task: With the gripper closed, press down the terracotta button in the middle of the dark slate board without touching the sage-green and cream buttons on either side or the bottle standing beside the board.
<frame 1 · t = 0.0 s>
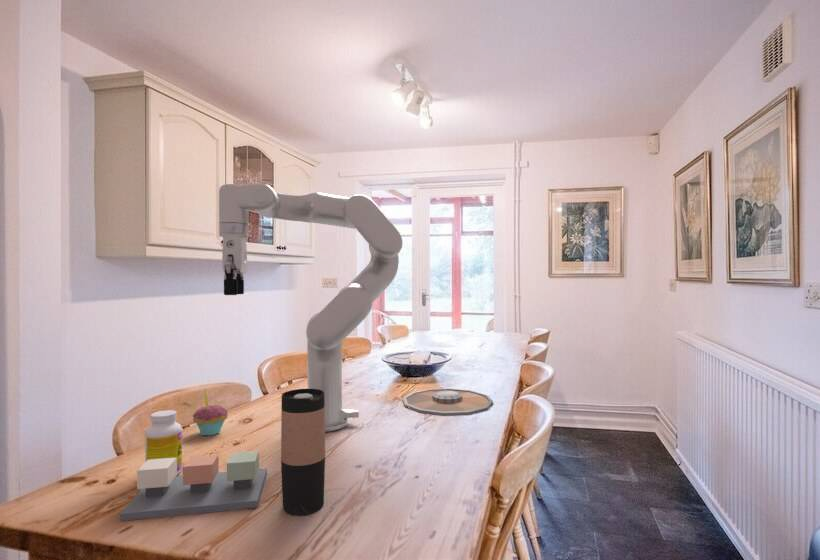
hand: (234, 294, 120), 37 cm above the table, tool pointing down, fingers open, 9 cm apart
shield: (447, 403, 147), on the table
button cream: (157, 472, 82), point 5 cm above the table, slide at 0.0 cm
button sage: (243, 465, 85), point 5 cm above the table, slide at 0.0 cm
supplement bottle: (163, 476, 92), on the table
travel mug: (303, 506, 79), on the table
board: (201, 495, 83), on the table
cupcake: (210, 433, 118), on the table
button terracotta: (201, 469, 83), point 5 cm above the table, slide at 0.0 cm
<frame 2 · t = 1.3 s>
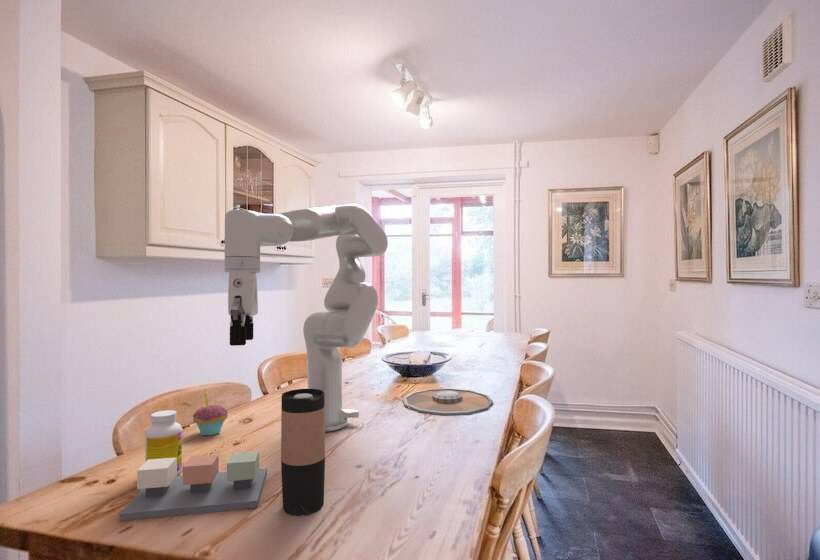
hand: (242, 342, 99), 27 cm above the table, tool pointing down, fingers open, 9 cm apart
nothing on the table moved.
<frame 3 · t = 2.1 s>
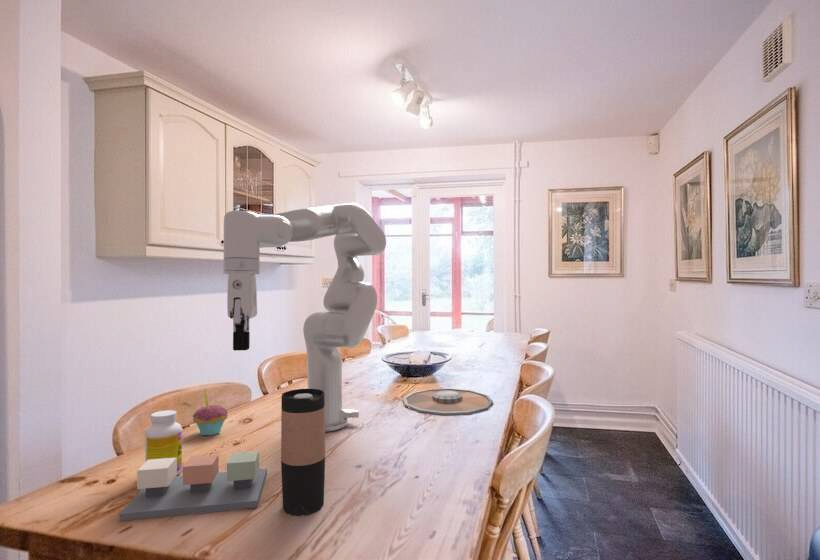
hand: (241, 349, 98), 25 cm above the table, tool pointing down, fingers closed
nothing on the table moved.
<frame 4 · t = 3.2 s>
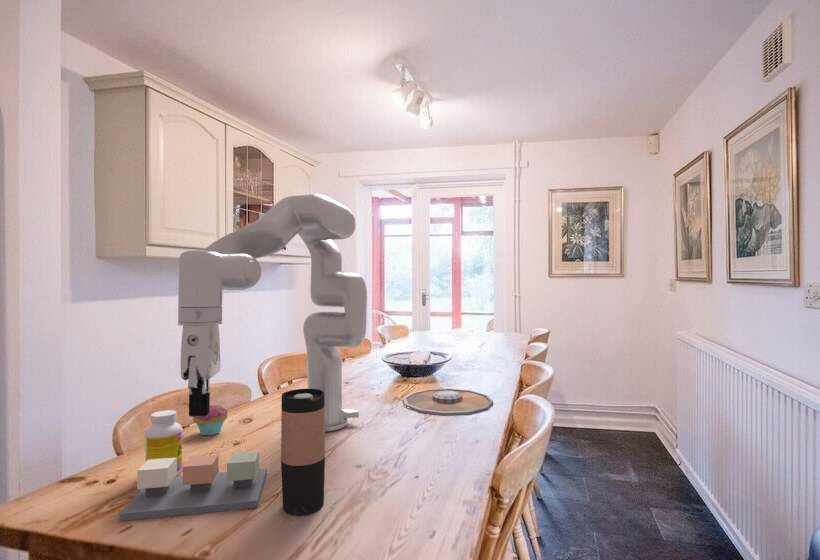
hand: (199, 414, 83), 15 cm above the table, tool pointing down, fingers closed
nothing on the table moved.
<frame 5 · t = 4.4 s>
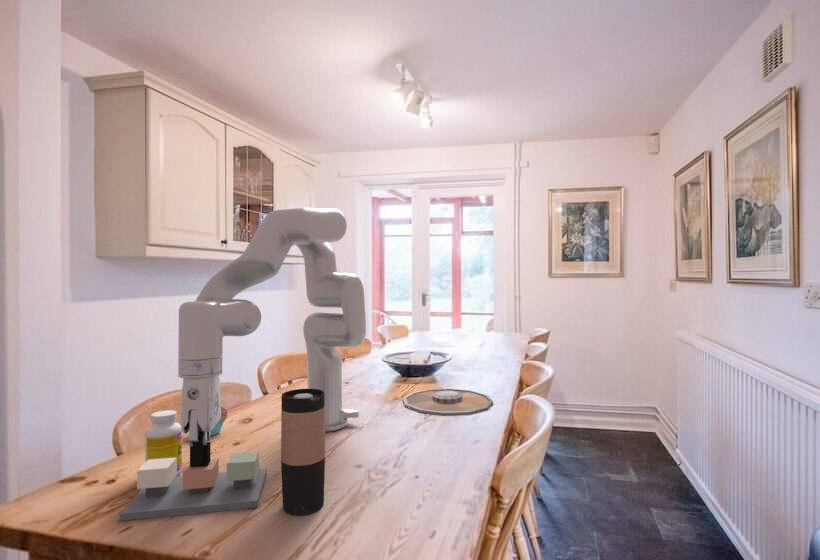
hand: (200, 465, 83), 6 cm above the table, tool pointing down, fingers closed
button terracotta: (201, 473, 83), point 4 cm above the table, slide at 0.8 cm, touching gripper
everything else where it was.
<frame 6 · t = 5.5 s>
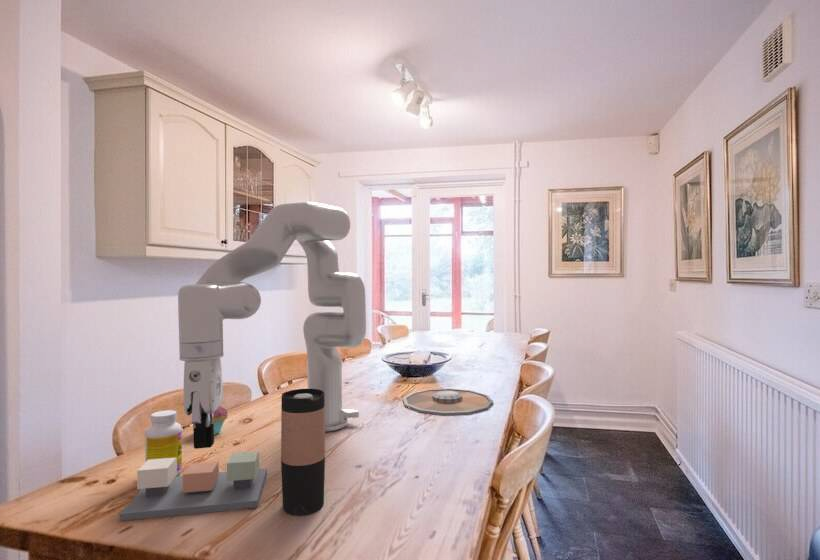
hand: (204, 446, 84), 9 cm above the table, tool pointing down, fingers closed
button terracotta: (201, 476, 83), point 3 cm above the table, slide at 1.4 cm
everything else where it was.
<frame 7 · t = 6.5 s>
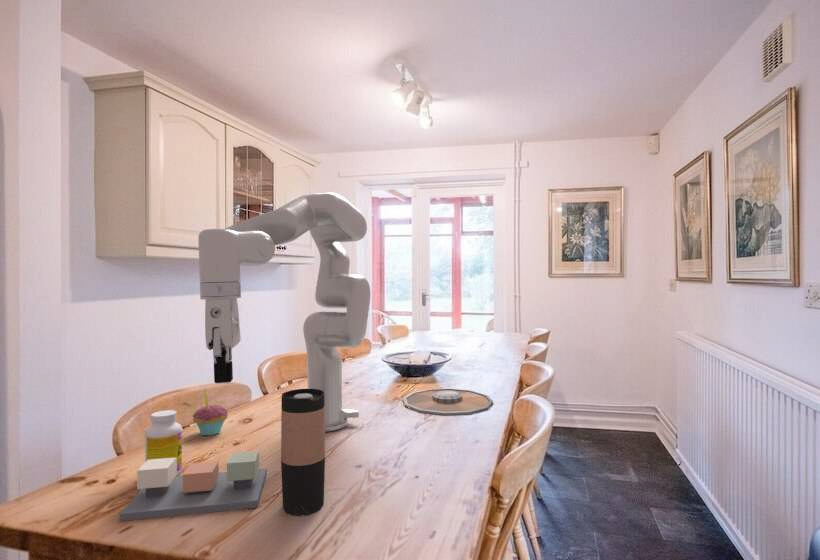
hand: (223, 381, 90), 20 cm above the table, tool pointing down, fingers closed
nothing on the table moved.
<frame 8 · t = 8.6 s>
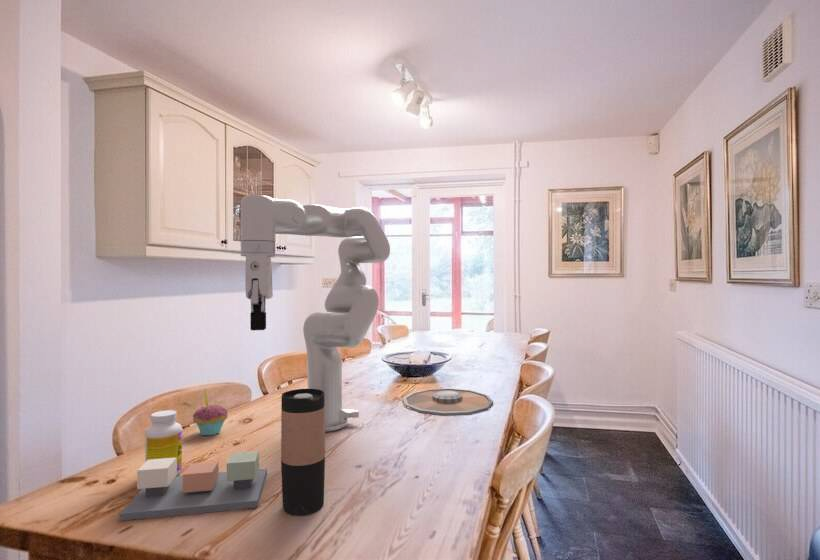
hand: (258, 329, 102), 29 cm above the table, tool pointing down, fingers closed
nothing on the table moved.
at the end: button terracotta slide at 1.4 cm; button sage slide at 0.0 cm; button cream slide at 0.0 cm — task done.
